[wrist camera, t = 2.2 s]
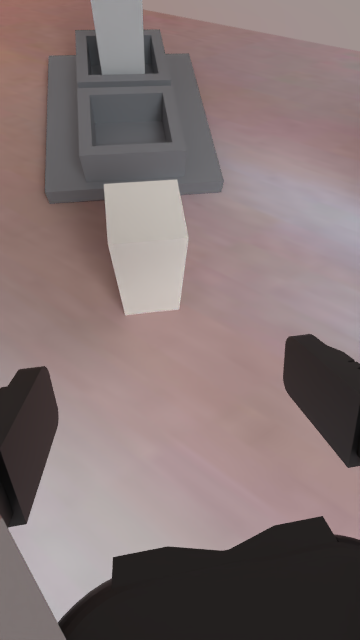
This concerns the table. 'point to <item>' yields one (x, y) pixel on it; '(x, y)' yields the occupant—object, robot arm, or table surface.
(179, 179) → the housing
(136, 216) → the tall white pillar
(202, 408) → the table surface
